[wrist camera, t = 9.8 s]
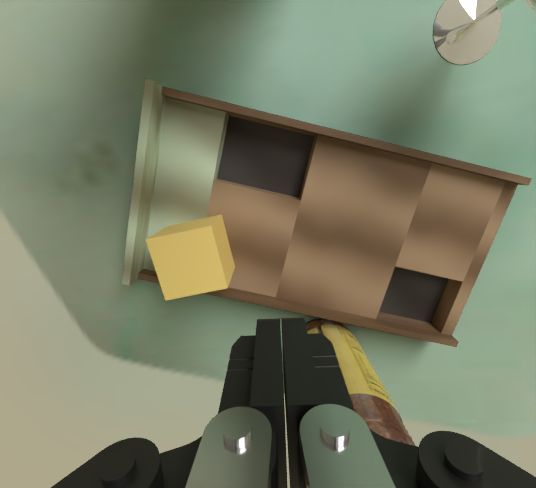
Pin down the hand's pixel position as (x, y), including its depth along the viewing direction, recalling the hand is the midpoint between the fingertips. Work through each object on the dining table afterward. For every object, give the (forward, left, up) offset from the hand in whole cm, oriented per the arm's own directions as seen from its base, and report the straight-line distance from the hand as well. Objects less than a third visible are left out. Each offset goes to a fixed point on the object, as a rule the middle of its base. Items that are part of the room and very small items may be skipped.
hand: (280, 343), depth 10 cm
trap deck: (-1, +3, -17) cm, 18 cm away
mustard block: (+2, -6, -15) cm, 16 cm away
